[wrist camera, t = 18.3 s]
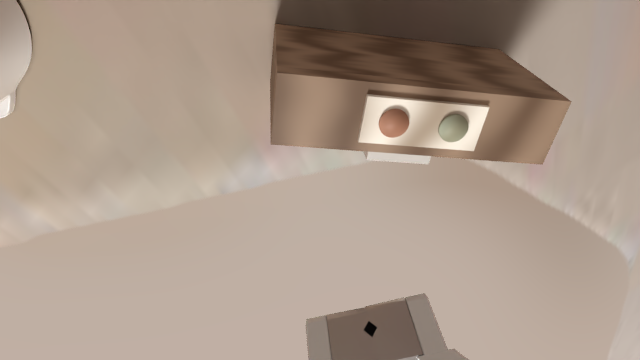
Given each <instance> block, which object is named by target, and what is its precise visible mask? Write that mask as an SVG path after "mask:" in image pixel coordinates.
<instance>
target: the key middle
mask: <svg viewBox="0 0 640 360" xmlns="http://www.w3.org/2000/svg"><path fill="white" fill-rule="evenodd" d="M364 154H365V157H366V159H367V160H376V161H391V162H405V163H418V164H429V161H430V158H431V156H422V155H408V154H394V153H381V152H367V151H364Z"/></svg>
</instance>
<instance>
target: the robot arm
mask: <svg viewBox="0 0 640 360" xmlns="http://www.w3.org/2000/svg"><path fill="white" fill-rule="evenodd" d="M31 54H32V41H31V34H30V30H29V27H28V23H27V21H26V18H25V16H24V14H23V11H22V10H21V8H20V6H19V4H18V3H17V1H16V0H0V118H3V117H6V116H8V115H9V114H11V113H12V112H13V110H14V108H15V100H16V88H17V86H18V84H19V82H20V81H21V79H22V78H23V76H24V75H25V73H26V71H27V69H28V67H29V64H30V60H31ZM306 334H307V346H308V358H309V360H468V359H467V358H466V357H464V356H463V355H462V354H460V353H459V352H458V351H456V350H455V349H450V350H448V349H447V346H446V344H445V341H444V339H443V336H442V333H441V331H440V328H439V326H438V323H437V321H436V318H435V315H434V313H433V310H432V307H431V305H430V302H429V300H428V297H427V296H426V295H425V294H424V293H423V294H419V295H415V296H410V297H406V298H405V299H404V298H400V299H395V300H391V301H387V302H382V303H378V304H374V305H370V306H366V307H365V308H360V309H354V310H349V311H344V312H339V313H334V314H329V315H324V316H319V317H315V318H310V319H307V321H306Z"/></svg>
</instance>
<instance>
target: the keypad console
mask: <svg viewBox="0 0 640 360" xmlns="http://www.w3.org/2000/svg"><path fill="white" fill-rule="evenodd" d="M270 102H271V144H273V145H286V146H300V147H313V148H327V149H340V150H354V151H367V152H381V153H394V154H408V155H422V156H435V157H449V158H462V159H476V160H489V161H503V162H516V163H530V164H543V162H544V160H545V158H546V156H547V153H548V151H549V149H550V147H551V145H552V143H553V140H554V138H555V136H556V134H557V132H558V130H559V127H560V125H561V123H562V121H563V119H564V117H565V114H566V112H567V110H568V108H569V106H570V104H571V101H570V100H568V99H567V98H566V97H564V96H563V95H562V94H560V93H559V92H557V91H556V90H555V89H553V88H552V87H550V86H549V85H548V84H546V83H545V82H544V81H542V80H541V79H539V78H538V77H537V76H535V75H534V74H533V73H531V72H530V71H528V70H527V69H526V68H524V67H523V66H521V65H520V64H519V63H517V62H516V61H515V60H513V59H512V58H510V57H509V56H508V55H506V54H505V53H503V52H502V51H501V50H499V49H492V48H484V47H475V46H466V45H457V44H449V43H440V42H431V41H422V40H414V39H405V38H396V37H387V36H379V35H370V34H361V33H352V32H344V31H335V30H326V29H317V28H309V27H300V26H291V25H282V24H275V29H274V42H273V54H272V67H271V79H270Z"/></svg>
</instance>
